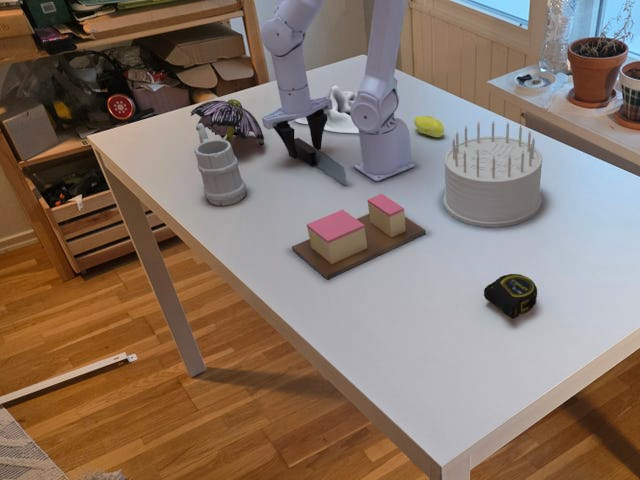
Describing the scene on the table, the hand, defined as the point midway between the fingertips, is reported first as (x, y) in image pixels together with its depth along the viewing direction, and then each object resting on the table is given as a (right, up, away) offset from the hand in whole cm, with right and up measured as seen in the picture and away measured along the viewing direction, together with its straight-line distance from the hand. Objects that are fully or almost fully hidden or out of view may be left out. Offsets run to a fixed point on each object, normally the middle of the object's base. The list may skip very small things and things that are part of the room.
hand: (305, 152), depth 133 cm
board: (+14, -22, -22) cm, 34 cm away
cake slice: (+19, -19, -20) cm, 33 cm away
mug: (-14, -10, -8) cm, 19 cm away
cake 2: (+37, -13, -13) cm, 42 cm away
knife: (+3, -4, -2) cm, 6 cm away
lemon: (+25, +6, +8) cm, 27 cm away
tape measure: (+39, -35, -36) cm, 63 cm away
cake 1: (+11, -24, -24) cm, 36 cm away
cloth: (+4, +14, +17) cm, 22 cm away
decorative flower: (-16, +2, +5) cm, 17 cm away
